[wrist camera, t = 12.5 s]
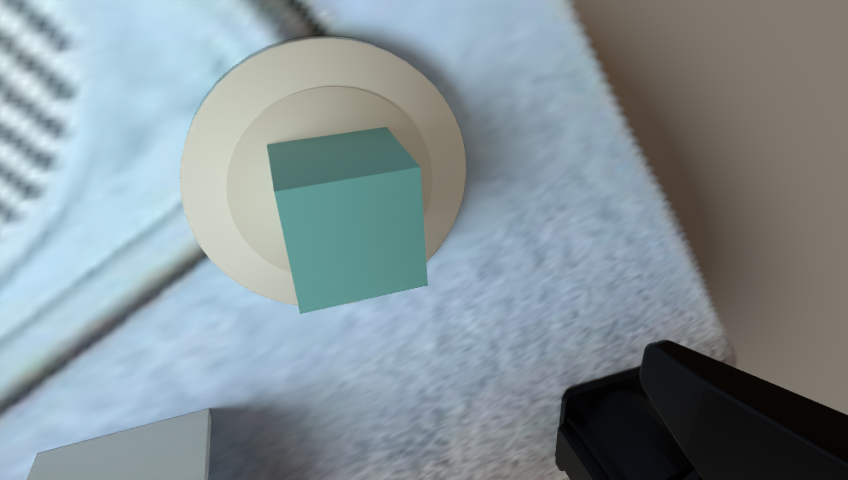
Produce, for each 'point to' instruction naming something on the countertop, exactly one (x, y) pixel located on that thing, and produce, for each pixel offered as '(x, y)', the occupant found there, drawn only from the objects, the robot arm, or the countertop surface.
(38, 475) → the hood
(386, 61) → the saucer
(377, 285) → the block
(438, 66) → the countertop surface
